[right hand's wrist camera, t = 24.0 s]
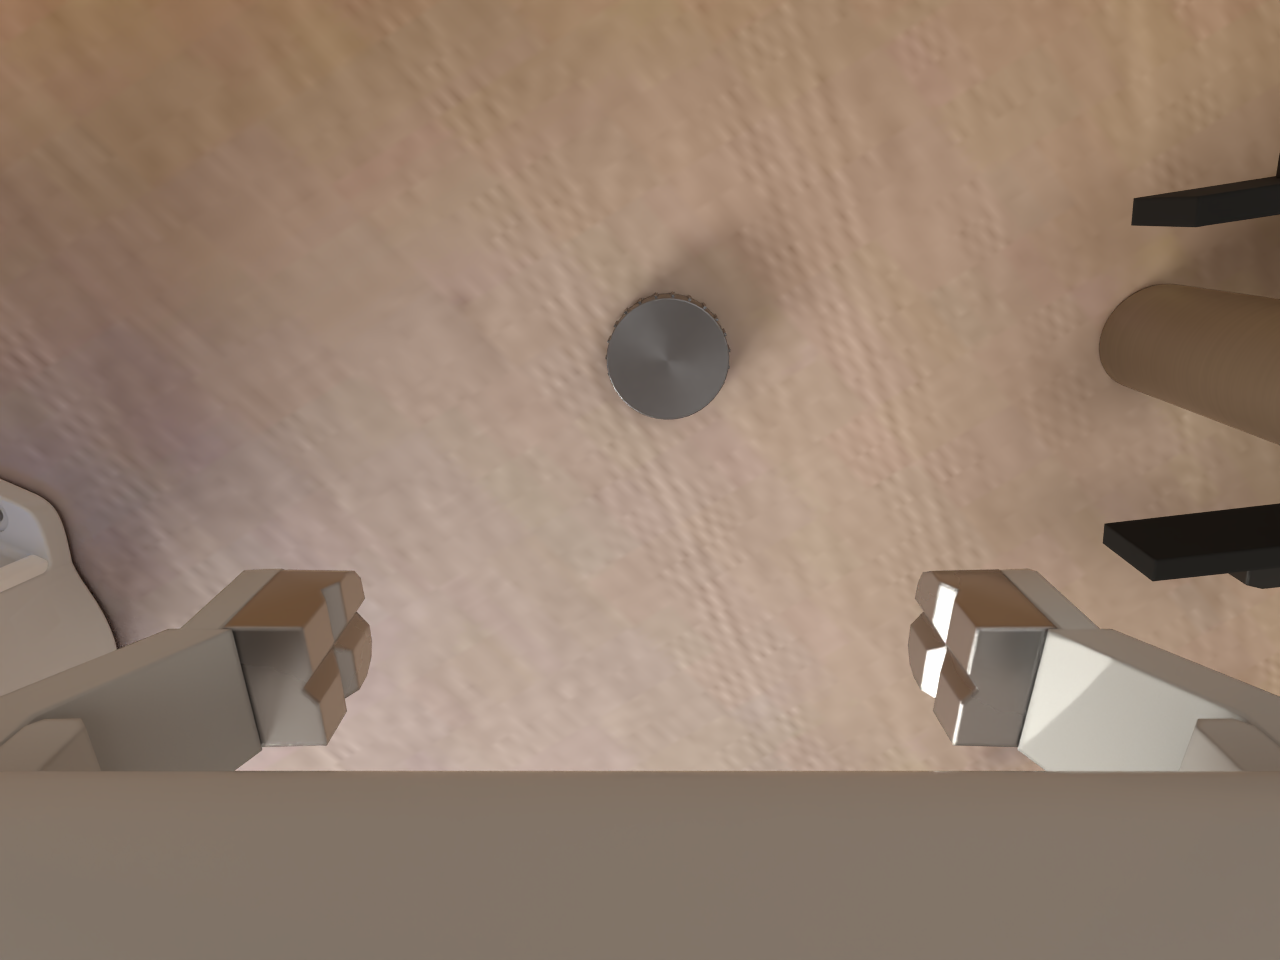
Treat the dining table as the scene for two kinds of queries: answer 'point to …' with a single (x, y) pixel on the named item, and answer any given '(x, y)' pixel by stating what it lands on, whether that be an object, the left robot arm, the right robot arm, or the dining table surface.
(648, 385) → the lid
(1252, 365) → the jar
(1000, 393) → the dining table surface
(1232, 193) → the left robot arm
